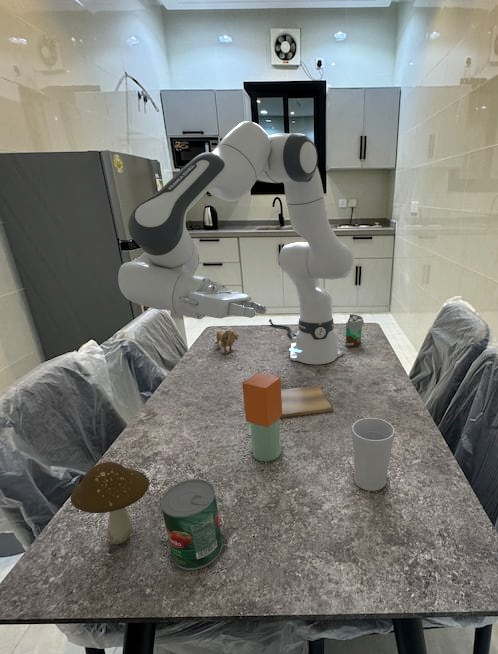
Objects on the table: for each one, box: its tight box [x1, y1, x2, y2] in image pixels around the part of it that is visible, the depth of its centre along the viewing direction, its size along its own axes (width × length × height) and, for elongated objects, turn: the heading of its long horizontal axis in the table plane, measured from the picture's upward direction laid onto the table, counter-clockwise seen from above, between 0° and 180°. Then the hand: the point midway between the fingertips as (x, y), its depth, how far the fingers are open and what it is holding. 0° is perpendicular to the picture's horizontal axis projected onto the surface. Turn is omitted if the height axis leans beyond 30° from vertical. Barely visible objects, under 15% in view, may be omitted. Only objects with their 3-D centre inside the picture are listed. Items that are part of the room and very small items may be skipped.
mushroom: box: [70, 461, 151, 545], centre depth 61 cm, size 9×11×15 cm
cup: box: [351, 417, 396, 492], centre depth 74 cm, size 8×8×12 cm
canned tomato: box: [160, 478, 224, 571], centre depth 60 cm, size 8×8×11 cm
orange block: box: [241, 372, 282, 427], centre depth 80 cm, size 6×6×9 cm
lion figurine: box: [214, 329, 240, 355], centre depth 143 cm, size 15×5×9 cm, turn 44°
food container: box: [345, 313, 365, 348], centre depth 147 cm, size 12×6×10 cm, turn 168°
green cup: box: [249, 417, 282, 462], centre depth 84 cm, size 6×6×9 cm
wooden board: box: [279, 385, 333, 419], centre depth 106 cm, size 14×14×1 cm
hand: (260, 311), depth 79 cm, fingers open, 8 cm apart
